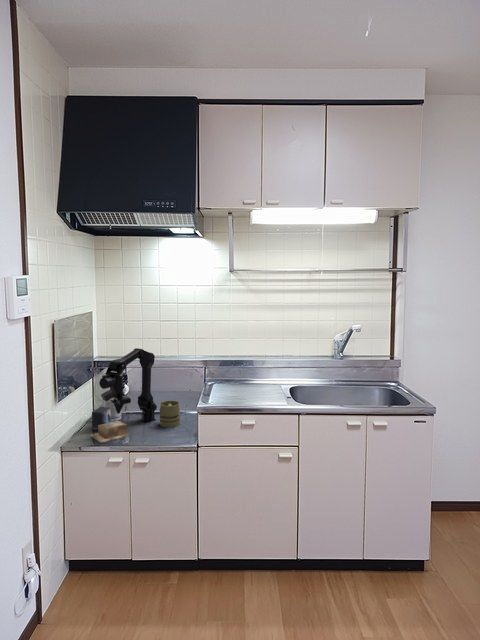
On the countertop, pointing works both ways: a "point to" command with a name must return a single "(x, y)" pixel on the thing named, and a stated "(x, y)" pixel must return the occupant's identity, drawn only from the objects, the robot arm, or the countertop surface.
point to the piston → (169, 414)
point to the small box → (100, 417)
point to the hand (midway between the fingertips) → (118, 413)
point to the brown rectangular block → (112, 429)
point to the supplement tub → (112, 410)
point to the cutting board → (104, 438)
